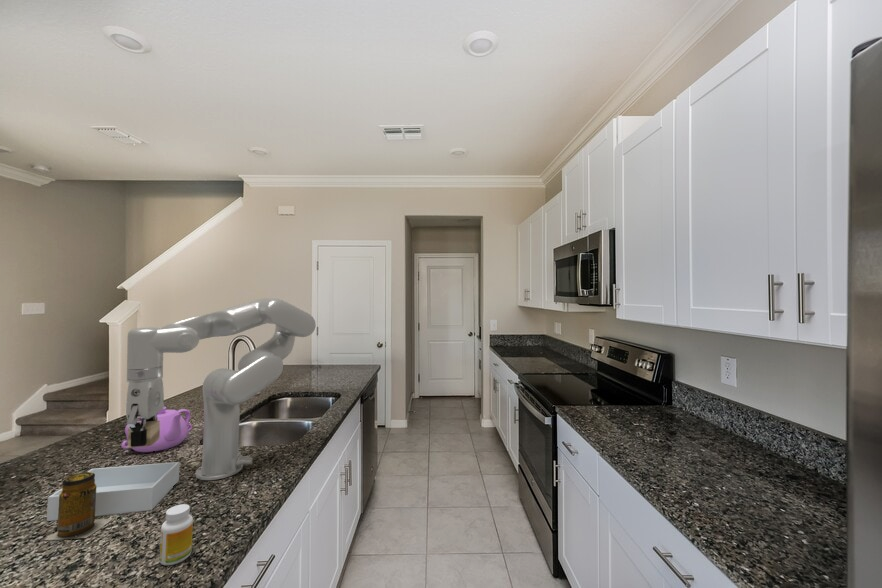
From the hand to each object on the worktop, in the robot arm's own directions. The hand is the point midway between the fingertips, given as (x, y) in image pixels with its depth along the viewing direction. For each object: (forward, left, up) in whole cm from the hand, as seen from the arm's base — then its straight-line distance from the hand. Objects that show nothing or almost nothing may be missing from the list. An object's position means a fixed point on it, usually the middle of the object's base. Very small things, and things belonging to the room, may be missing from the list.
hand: (144, 440), depth 96 cm
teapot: (+11, -37, -15) cm, 42 cm away
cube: (0, 0, -1) cm, 1 cm away
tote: (+5, 0, -15) cm, 16 cm away
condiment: (+6, +13, -15) cm, 21 cm away
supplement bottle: (-19, +28, -15) cm, 37 cm away
